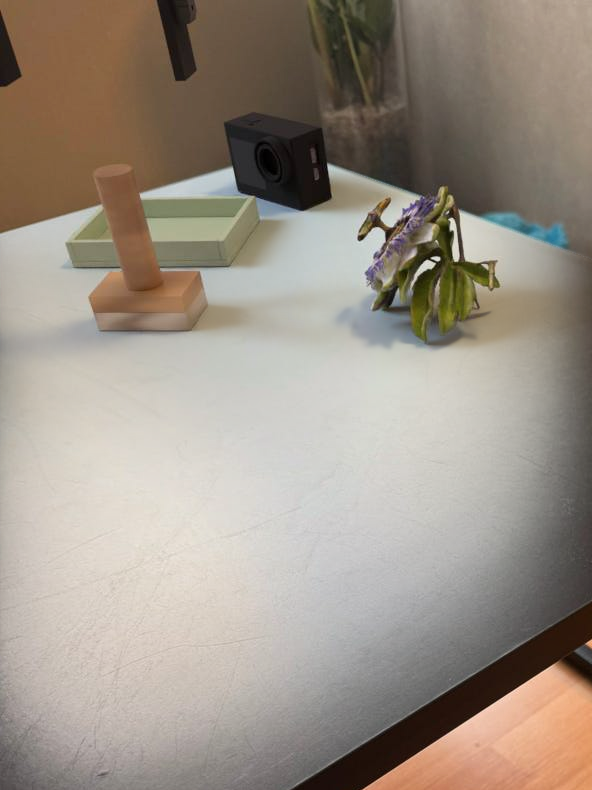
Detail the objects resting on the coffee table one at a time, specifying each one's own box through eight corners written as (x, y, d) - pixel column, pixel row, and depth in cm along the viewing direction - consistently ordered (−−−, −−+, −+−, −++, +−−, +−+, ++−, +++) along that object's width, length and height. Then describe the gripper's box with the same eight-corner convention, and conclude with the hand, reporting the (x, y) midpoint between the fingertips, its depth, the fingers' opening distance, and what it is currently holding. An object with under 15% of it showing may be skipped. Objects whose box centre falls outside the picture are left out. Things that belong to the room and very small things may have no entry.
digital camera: (227, 195, 107) (212, 124, 102) (266, 179, 110) (253, 110, 105) (293, 215, 102) (280, 141, 97) (332, 198, 105) (321, 125, 100)
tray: (72, 267, 95) (64, 242, 93) (115, 221, 103) (108, 197, 101) (229, 266, 93) (223, 240, 92) (260, 220, 101) (255, 195, 100)
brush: (98, 330, 85) (50, 182, 77) (120, 304, 88) (75, 160, 80) (190, 330, 84) (151, 180, 76) (208, 304, 88) (172, 158, 79)
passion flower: (395, 368, 89) (361, 229, 87) (515, 336, 87) (483, 195, 86) (372, 351, 78) (332, 192, 76) (510, 315, 76) (472, 152, 75)
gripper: (207, -336, 61) (275, 59, 75) (-176, -306, 63) (-39, 70, 78) (167, -339, 55) (248, 88, 70) (-249, -305, 58) (-88, 98, 72)
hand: (97, 79), depth 74 cm, fingers open, 13 cm apart
